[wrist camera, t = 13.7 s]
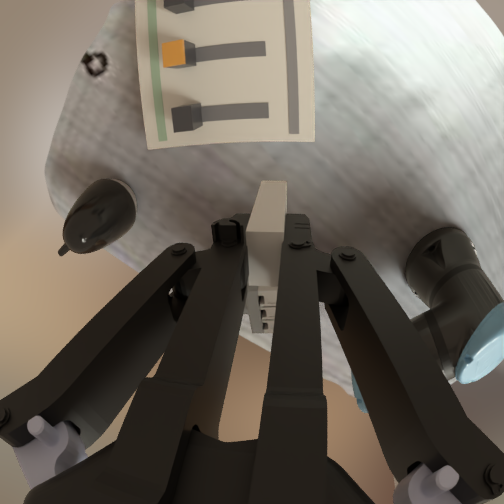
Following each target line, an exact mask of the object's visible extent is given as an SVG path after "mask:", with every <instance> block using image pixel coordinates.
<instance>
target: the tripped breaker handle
mask: <svg viewBox="0 0 504 504" xmlns="http://www.w3.org/2000/svg"><path fill="white" fill-rule="evenodd" d="M162 57H163V68H175V69H179V68H185V67H192V66H196V51H195V44H194V43H191V42H188V41H186V40H183V39H181V40H176V41H171V42H166V43H162Z"/></svg>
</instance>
